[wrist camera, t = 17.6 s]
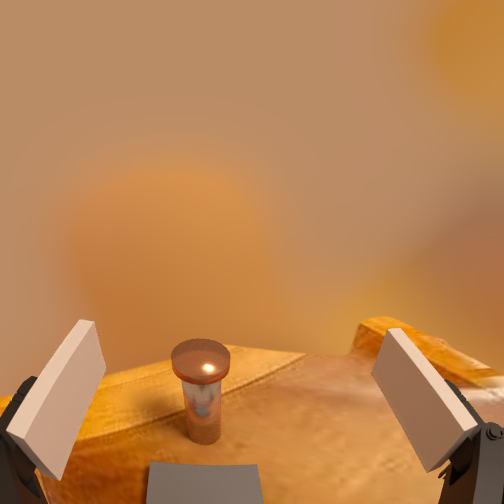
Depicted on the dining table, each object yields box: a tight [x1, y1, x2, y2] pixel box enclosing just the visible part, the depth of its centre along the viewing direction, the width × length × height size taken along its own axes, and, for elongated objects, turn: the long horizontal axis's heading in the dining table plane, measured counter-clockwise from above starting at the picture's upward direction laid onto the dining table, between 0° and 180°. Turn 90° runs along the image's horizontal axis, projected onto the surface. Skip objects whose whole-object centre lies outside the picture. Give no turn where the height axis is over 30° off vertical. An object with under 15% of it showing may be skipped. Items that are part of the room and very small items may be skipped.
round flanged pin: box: [171, 339, 230, 445], centre depth 34 cm, size 7×7×16 cm
